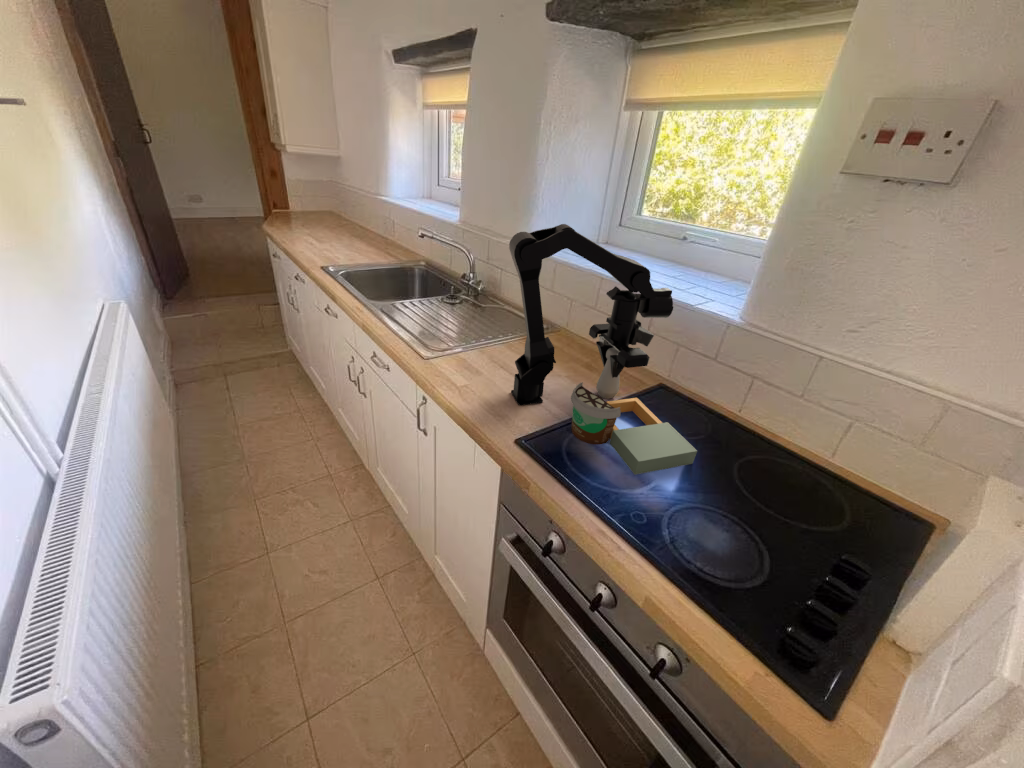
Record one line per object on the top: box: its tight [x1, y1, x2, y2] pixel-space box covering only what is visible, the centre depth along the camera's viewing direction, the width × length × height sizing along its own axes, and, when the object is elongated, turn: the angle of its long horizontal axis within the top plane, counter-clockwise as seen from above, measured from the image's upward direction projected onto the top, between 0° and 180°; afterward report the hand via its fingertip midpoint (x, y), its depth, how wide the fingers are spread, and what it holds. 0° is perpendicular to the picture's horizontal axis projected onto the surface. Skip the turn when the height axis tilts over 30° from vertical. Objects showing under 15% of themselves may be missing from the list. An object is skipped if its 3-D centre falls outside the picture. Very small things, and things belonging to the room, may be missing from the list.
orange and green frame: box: [606, 397, 698, 476], centre depth 91 cm, size 14×21×4 cm, turn 18°
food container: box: [570, 381, 622, 446], centre depth 88 cm, size 12×6×10 cm, turn 35°
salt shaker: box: [596, 348, 621, 400], centre depth 103 cm, size 6×6×13 cm
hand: (610, 374), depth 103 cm, fingers closed on salt shaker, 3 cm apart
